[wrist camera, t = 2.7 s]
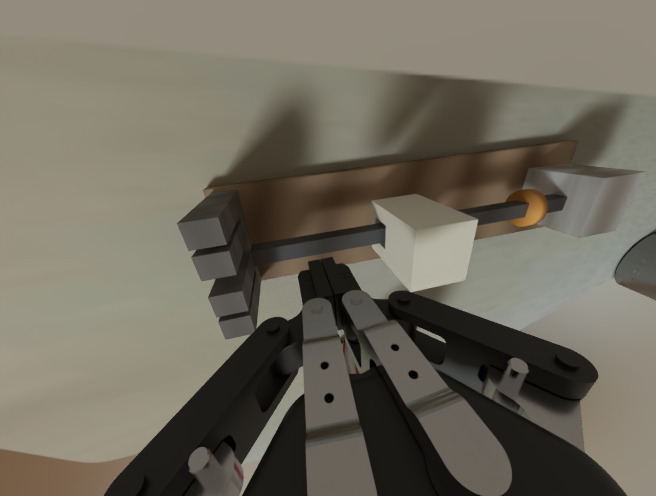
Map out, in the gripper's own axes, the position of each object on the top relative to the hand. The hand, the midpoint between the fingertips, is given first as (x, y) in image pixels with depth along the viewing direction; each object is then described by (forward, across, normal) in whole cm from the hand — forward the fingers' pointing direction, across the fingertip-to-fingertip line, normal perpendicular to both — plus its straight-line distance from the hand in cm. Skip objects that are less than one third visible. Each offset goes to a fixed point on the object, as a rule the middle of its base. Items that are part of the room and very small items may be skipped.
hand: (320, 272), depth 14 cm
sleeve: (+6, -8, 0) cm, 10 cm away
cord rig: (+9, -10, 0) cm, 13 cm away
